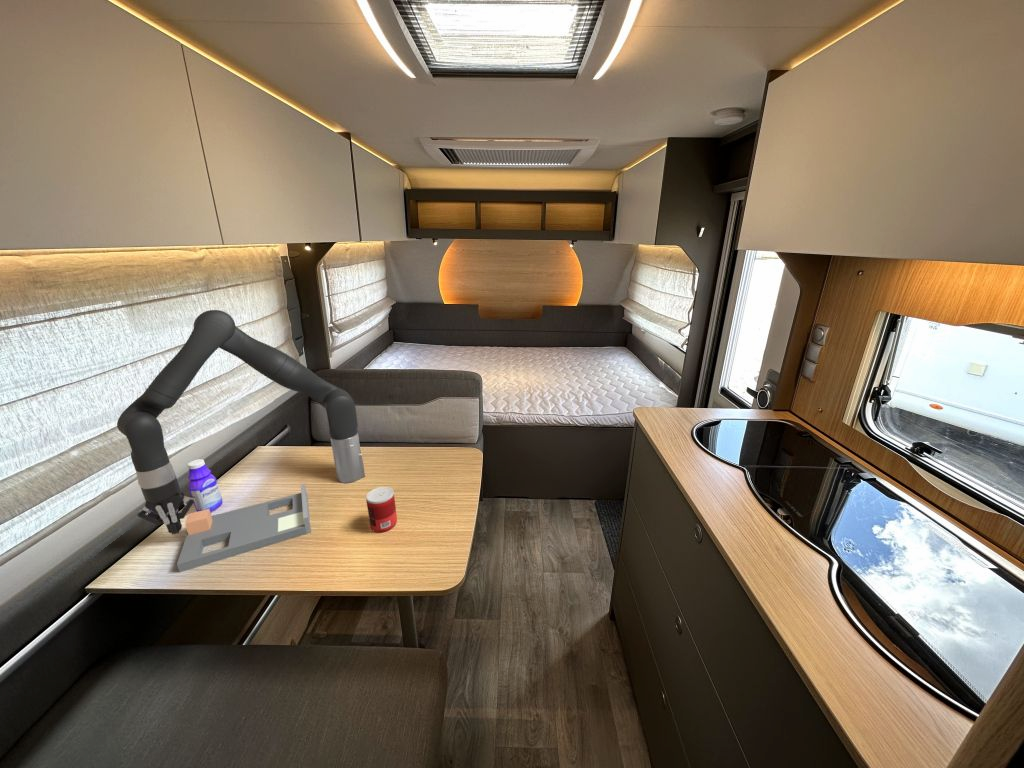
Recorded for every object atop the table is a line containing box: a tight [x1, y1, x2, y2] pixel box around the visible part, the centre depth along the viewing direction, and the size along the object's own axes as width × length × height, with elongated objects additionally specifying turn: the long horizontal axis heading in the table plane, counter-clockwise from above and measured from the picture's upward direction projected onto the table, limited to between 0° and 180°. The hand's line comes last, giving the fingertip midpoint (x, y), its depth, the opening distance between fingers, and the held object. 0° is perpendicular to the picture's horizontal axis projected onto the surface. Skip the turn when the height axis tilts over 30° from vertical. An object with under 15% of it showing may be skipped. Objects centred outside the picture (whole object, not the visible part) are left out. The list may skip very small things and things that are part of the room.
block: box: [184, 509, 213, 535], centre depth 116 cm, size 5×5×4 cm
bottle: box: [187, 458, 224, 514], centre depth 127 cm, size 7×6×17 cm
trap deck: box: [176, 483, 312, 573], centre depth 118 cm, size 31×20×6 cm, turn 119°
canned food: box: [365, 486, 398, 534], centre depth 119 cm, size 8×8×11 cm
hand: (176, 531), depth 114 cm, fingers closed
